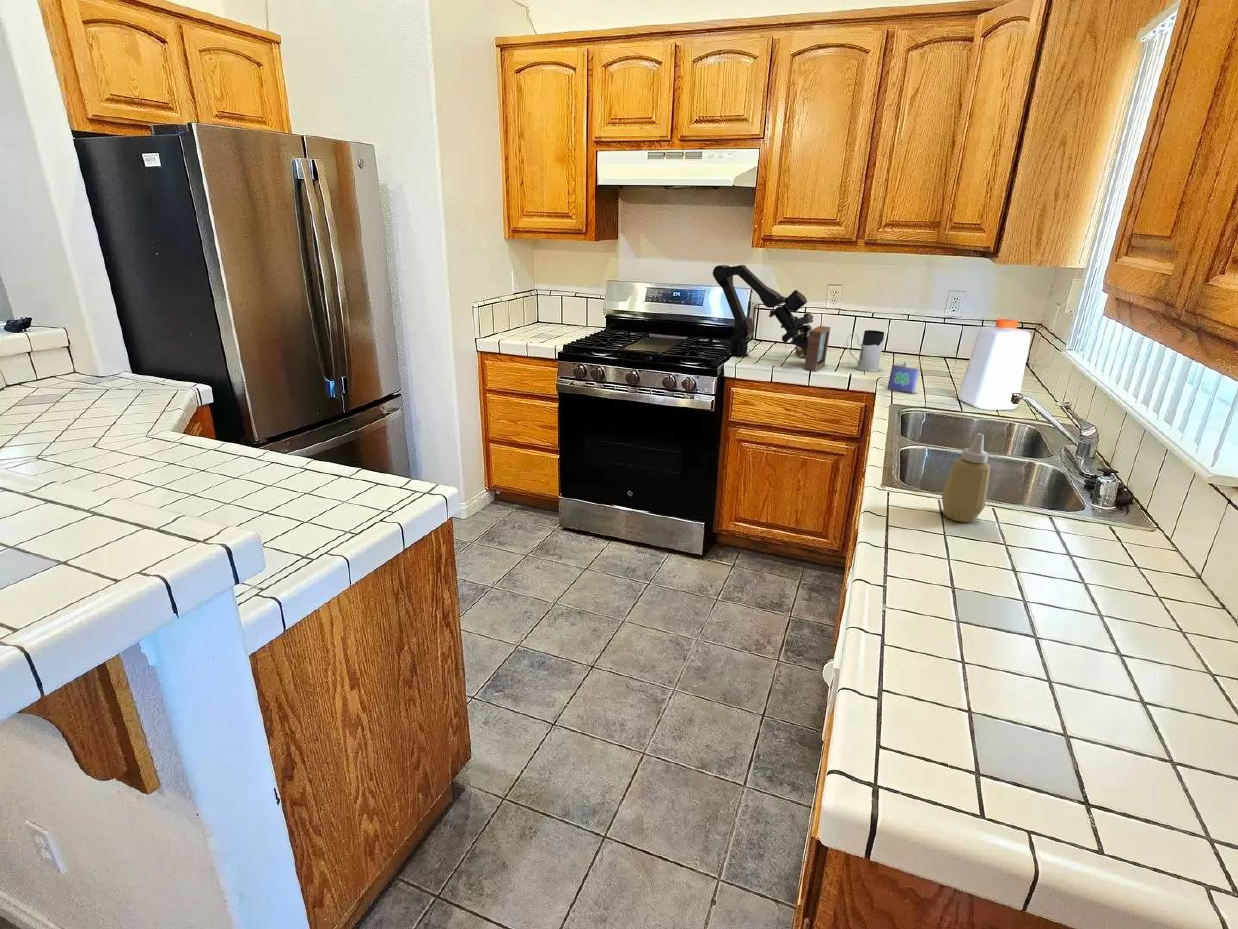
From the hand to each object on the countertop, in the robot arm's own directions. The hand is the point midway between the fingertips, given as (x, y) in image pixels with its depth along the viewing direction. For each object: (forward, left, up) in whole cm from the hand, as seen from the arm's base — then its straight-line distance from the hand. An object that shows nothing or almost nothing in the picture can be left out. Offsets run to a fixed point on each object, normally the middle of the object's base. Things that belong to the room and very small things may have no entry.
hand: (809, 350), depth 259 cm
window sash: (0, +1, -4) cm, 4 cm away
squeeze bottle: (+106, -88, -7) cm, 138 cm away
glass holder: (+13, +18, -7) cm, 23 cm away
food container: (-14, +17, -7) cm, 23 cm away
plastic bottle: (+67, +9, -7) cm, 68 cm away
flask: (+42, -1, -7) cm, 42 cm away
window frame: (+2, +2, -7) cm, 7 cm away
